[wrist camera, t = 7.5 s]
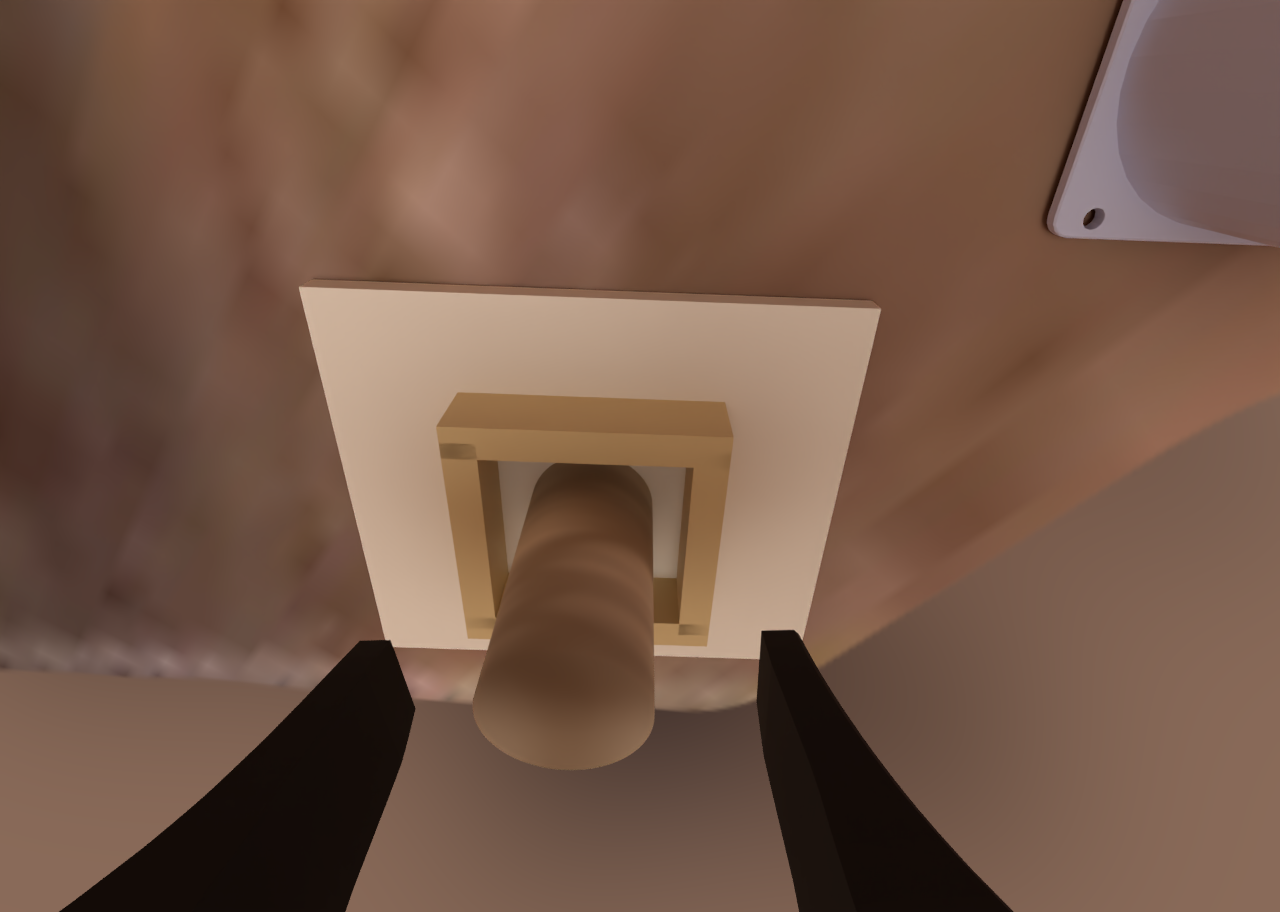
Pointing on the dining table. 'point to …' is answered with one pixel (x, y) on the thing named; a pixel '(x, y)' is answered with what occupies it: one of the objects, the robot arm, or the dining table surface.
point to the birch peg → (575, 624)
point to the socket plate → (590, 441)
